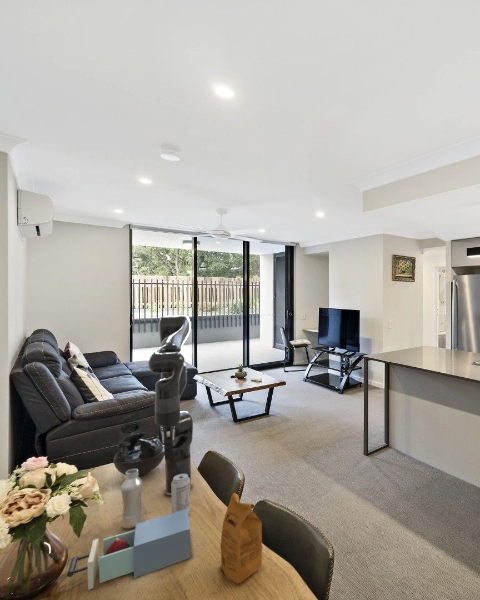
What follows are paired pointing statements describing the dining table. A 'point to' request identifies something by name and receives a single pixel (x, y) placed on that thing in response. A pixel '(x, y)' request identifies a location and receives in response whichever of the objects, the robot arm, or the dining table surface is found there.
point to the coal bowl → (138, 454)
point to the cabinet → (161, 542)
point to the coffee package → (240, 541)
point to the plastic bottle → (132, 499)
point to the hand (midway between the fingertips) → (168, 454)
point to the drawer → (107, 560)
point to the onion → (117, 546)
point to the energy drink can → (180, 493)
